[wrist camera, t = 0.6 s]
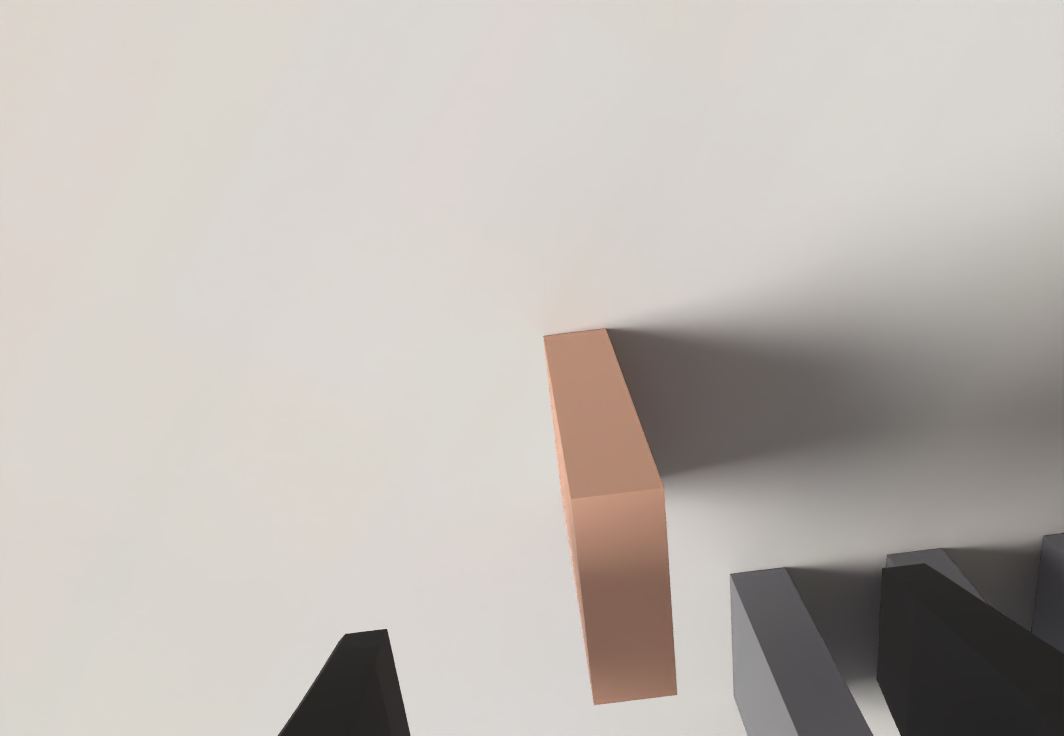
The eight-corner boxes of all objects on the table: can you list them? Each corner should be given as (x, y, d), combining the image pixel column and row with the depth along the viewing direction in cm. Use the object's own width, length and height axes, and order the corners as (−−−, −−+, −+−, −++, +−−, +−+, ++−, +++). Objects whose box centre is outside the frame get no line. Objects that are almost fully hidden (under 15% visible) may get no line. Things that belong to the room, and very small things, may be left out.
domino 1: (619, 483, 21) (676, 694, 15) (561, 491, 21) (593, 705, 15) (605, 328, 20) (663, 487, 13) (543, 336, 20) (570, 499, 13)
